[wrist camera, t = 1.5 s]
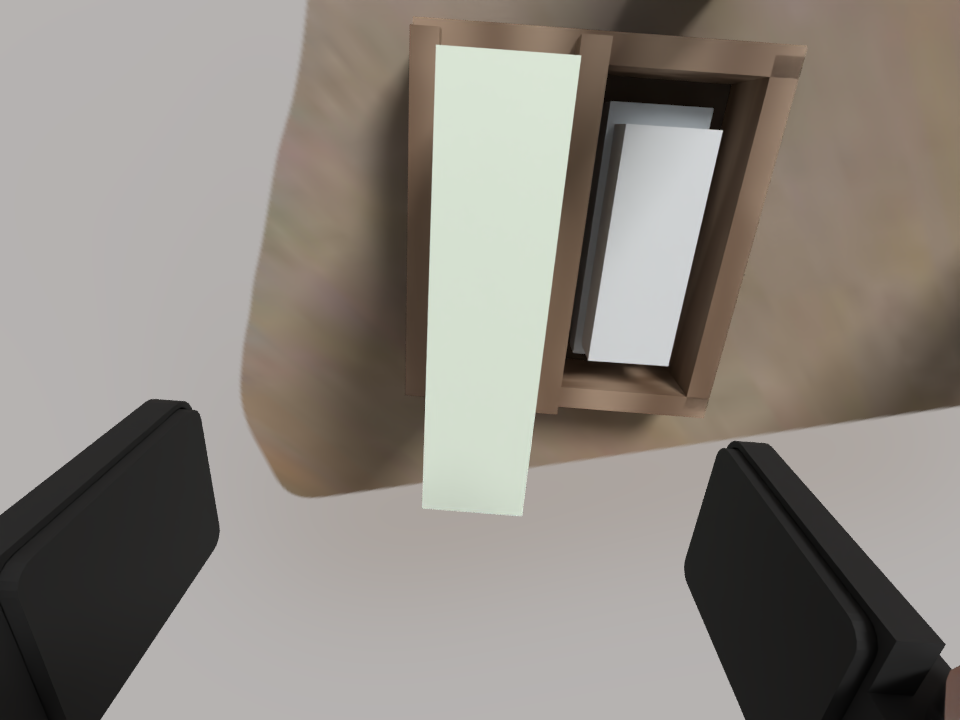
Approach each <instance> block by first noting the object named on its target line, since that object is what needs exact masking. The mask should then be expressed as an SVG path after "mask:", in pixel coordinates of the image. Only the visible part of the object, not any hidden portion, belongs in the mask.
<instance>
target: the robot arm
mask: <svg viewBox="0 0 960 720" xmlns="http://www.w3.org/2000/svg"><path fill="white" fill-rule="evenodd" d="M219 532H220V530H219V521H218V515H217V509H216V504H215V498H214V492H213V486H212V480H211V474H210V468H209V463H208V457H207V451H206V445H205V439H204V433H203V427H202V421H201V417H200V414H199V413H198V411H195V410H192V408H191V406H190V405H189V403H187V402H185V401H172V400H159V399H151V400H148V401H147V402H145V403H144V404H142V405H141V406H140V407H139V408H138V409H136V410H135V411H134V412H132V413H131V414H130V415H128V416H127V417H126V418H124V419H123V420H122V421H121V422H119V423H118V424H117V425H116V426H114V427H113V428H112V429H110V430H109V431H108V432H107V433H105V434H104V435H103V436H101V437H100V438H99V439H97V440H96V441H95V442H94V443H93V444H91V445H90V446H88V447H87V448H86V449H85V450H83V451H82V452H81V453H79V454H78V455H77V456H76V457H74V458H73V459H72V460H71V461H69V462H68V463H67V464H65V465H64V466H63V467H62V468H60V469H59V470H58V471H56V472H55V473H54V474H53V475H51V476H50V477H49V478H47V479H46V480H45V481H44V482H42V483H41V484H40V485H38V486H37V487H36V488H35V489H34V490H32V491H31V492H29V493H28V494H27V495H26V496H24V497H23V498H22V499H20V500H19V501H18V502H17V503H15V504H14V505H13V506H11V507H10V508H9V509H8V510H6V511H5V512H4V513H3V514H1V515H0V720H100V719H101V718H102V717H103V715H104V713H105V712H106V711H107V709H108V708H109V706H110V704H111V703H112V702H113V700H114V699H115V697H116V696H117V694H118V693H119V691H120V690H121V688H122V687H123V685H124V683H125V682H126V681H127V679H128V678H129V676H130V675H131V673H132V672H133V670H134V669H135V667H136V666H137V664H138V663H139V661H140V660H141V658H142V657H143V655H144V654H145V652H146V651H147V649H148V648H149V646H150V645H151V643H152V642H153V640H154V639H155V637H156V635H157V634H158V633H159V631H160V630H161V628H162V627H163V625H164V624H165V622H166V621H167V619H168V618H169V616H170V615H171V613H172V612H173V610H174V609H175V607H176V606H177V604H178V603H179V601H180V600H181V598H182V597H183V595H184V594H185V592H186V591H187V589H188V588H189V586H190V585H191V583H192V582H193V580H194V579H195V577H196V576H197V574H198V572H199V571H200V570H201V568H202V567H203V565H204V564H205V562H206V561H207V559H208V558H209V556H210V555H211V553H212V552H213V550H214V549H215V546H216V545H217V542H218V538H219ZM684 571H685V578H686V581H687V584H688V586H689V589H690V591H691V594H692V596H693V598H694V601H695V603H696V605H697V608H698V610H699V612H700V615H701V617H702V619H703V621H704V624H705V626H706V628H707V631H708V633H709V635H710V638H711V640H712V643H713V645H714V647H715V650H716V652H717V654H718V657H719V659H720V661H721V664H722V666H723V668H724V670H725V673H726V675H727V678H728V680H729V682H730V685H731V687H732V689H733V692H734V694H735V696H736V699H737V701H738V703H739V706H740V708H741V710H742V713H743V715H744V717H745V720H960V666H958V667H956V668H954V669H951V668H950V667H949V666H948V664H947V663H946V662H945V661H944V660H943V658H942V657H941V656H940V653H941V651H942V650H943V648H944V646H945V643H944V642H943V641H942V640H941V639H940V637H939V636H938V635H937V634H936V633H935V632H934V631H933V629H932V628H931V627H930V626H929V625H928V624H927V623H926V622H925V620H924V619H923V618H922V617H921V616H920V615H919V614H918V613H917V611H916V610H915V609H914V608H913V607H912V606H911V605H910V603H909V602H908V601H907V600H906V599H905V598H904V597H903V595H902V594H901V593H900V592H899V591H898V590H897V589H896V588H895V586H894V585H893V584H892V583H891V582H890V581H889V580H888V578H887V577H886V576H885V575H884V574H883V573H882V572H881V571H880V569H879V568H878V567H877V566H876V565H875V564H874V563H873V561H872V560H871V559H870V558H869V557H868V556H867V555H866V553H865V552H864V551H863V550H862V549H861V548H860V547H859V546H858V544H857V543H856V542H855V541H854V540H853V539H852V538H851V536H850V535H849V534H848V533H847V532H846V531H845V530H844V528H843V527H842V526H841V525H840V524H839V523H838V522H837V520H835V518H834V517H833V516H832V515H831V514H830V513H829V512H828V510H827V509H826V508H825V507H824V506H823V505H822V504H821V502H820V501H819V500H818V499H817V498H816V497H815V495H814V494H813V493H812V492H811V491H810V490H809V489H808V488H807V486H806V485H805V484H804V483H803V482H802V481H801V480H800V479H799V477H798V476H797V475H796V474H795V473H794V472H793V471H792V470H791V468H790V467H789V466H788V465H787V464H786V463H785V462H784V460H783V459H782V458H781V457H780V456H779V455H778V454H777V452H776V451H775V450H774V449H773V448H772V447H771V446H770V445H769V444H766V443H755V442H741V441H733V442H731V443H730V444H729V445H728V447H727V448H722V449H721V450H719V452H718V454H717V456H716V459H715V463H714V466H713V469H712V472H711V476H710V479H709V483H708V486H707V489H706V492H705V496H704V499H703V502H702V506H701V509H700V512H699V516H698V519H697V522H696V526H695V529H694V532H693V536H692V539H691V542H690V546H689V549H688V552H687V556H686V559H685V565H684Z"/></svg>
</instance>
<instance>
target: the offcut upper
mask: <svg viewBox="0 0 960 720" xmlns="http://www.w3.org/2000/svg"><path fill="white" fill-rule="evenodd" d="M722 132H723V130H710V129H696V128H681V127H666V126H652V125H637V124H615V127H614V134H613V140H612V147H611V153H610V160H609V166H608V173H607V179H606V186H605V192H604V199H603V205H602V212H601V218H600V225H599V231H598V238H597V244H596V251H595V257H594V264H593V270H592V277H591V283H590V290H589V296H588V303H587V310H586V316H585V323H584V329H583V336H582V342H581V343H582V346H583V349H584V351H585V354H586V357H587V359H588V361H601V362H615V363H629V364H644V365H658V366H668V365H669V361H670V356H671V352H672V348H673V344H674V339H675V335H676V331H677V326H678V322H679V318H680V313H681V309H682V305H683V300H684V296H685V292H686V288H687V283H688V279H689V275H690V270H691V266H692V262H693V257H694V253H695V249H696V244H697V240H698V236H699V232H700V227H701V223H702V219H703V214H704V210H705V206H706V201H707V197H708V193H709V188H710V184H711V180H712V176H713V171H714V167H715V163H716V158H717V154H718V150H719V145H720V141H721V137H722Z"/></svg>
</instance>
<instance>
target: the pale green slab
mask: <svg viewBox="0 0 960 720" xmlns="http://www.w3.org/2000/svg"><path fill="white" fill-rule="evenodd" d="M580 62H581V55H569V54H555V53H542V52H528V51H515V50H502V49H488V48H475V47H461V46H448V45H436V61H435V94H434V128H433V161H432V195H431V228H430V262H429V295H428V329H427V362H426V396H425V429H424V463H423V497H422V508H424V509H437V510H449V511H462V512H474V513H475V512H476V513H487V514H500V515H512V516H522V513H523V505H524V497H525V489H526V481H527V474H528V466H529V458H530V451H531V443H532V435H533V427H534V420H535V412H536V404H537V396H538V389H539V381H540V373H541V365H542V357H543V350H544V342H545V334H546V326H547V319H548V311H549V303H550V295H551V288H552V280H553V272H554V264H555V256H556V249H557V241H558V233H559V225H560V218H561V210H562V202H563V194H564V187H565V179H566V171H567V163H568V155H569V148H570V140H571V132H572V124H573V117H574V109H575V101H576V93H577V86H578V78H579V70H580Z"/></svg>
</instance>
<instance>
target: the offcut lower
mask: <svg viewBox="0 0 960 720" xmlns="http://www.w3.org/2000/svg"><path fill="white" fill-rule="evenodd" d="M713 110H714V108H704V107H690V106H676V105H661V104H647V103H633V102H618V101H608V102H605V103H603V108H602V115H601V121H600V128H599V135H598V142H597V148H596V155H595V162H594V169H593V176H592V183H591V190H590V196H589V203H588V210H587V217H586V224H585V231H584V238H583V245H582V252H581V259H580V266H579V273H578V280H577V287H576V294H575V301H574V308H573V315H572V322H571V328H570V335H569V342H570V345H571V349H572V352H573V353H579V354H585V351H584V349H583V346H582V343H581V342H582V336H583V329H584V323H585V316H586V310H587V303H588V296H589V290H590V283H591V277H592V270H593V264H594V257H595V251H596V244H597V238H598V231H599V225H600V218H601V212H602V205H603V199H604V192H605V186H606V179H607V173H608V166H609V160H610V153H611V147H612V140H613V134H614V127H615V124H637V125H652V126H666V127H681V128H696V129H709V128H710V123H711V119H712V114H713Z"/></svg>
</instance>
